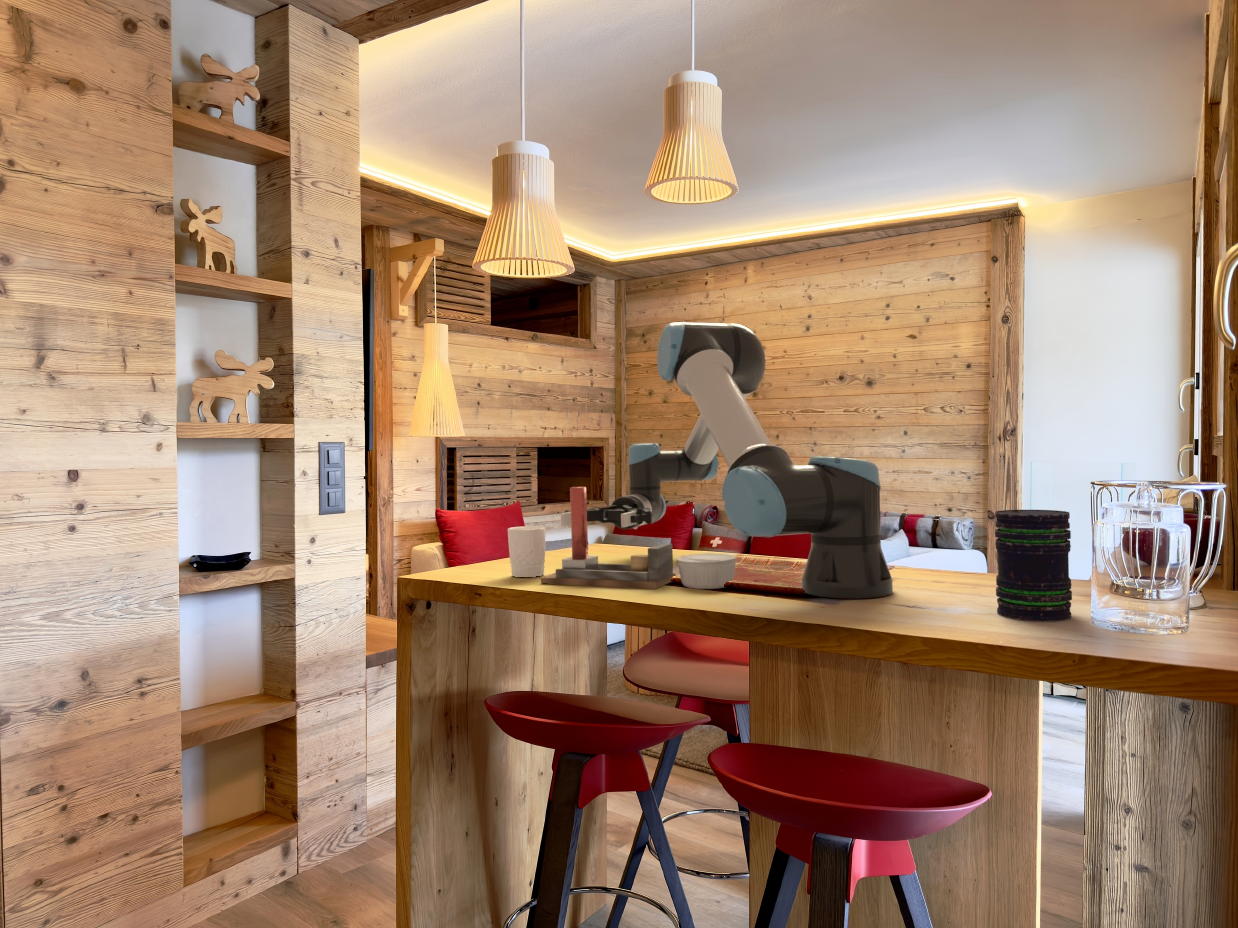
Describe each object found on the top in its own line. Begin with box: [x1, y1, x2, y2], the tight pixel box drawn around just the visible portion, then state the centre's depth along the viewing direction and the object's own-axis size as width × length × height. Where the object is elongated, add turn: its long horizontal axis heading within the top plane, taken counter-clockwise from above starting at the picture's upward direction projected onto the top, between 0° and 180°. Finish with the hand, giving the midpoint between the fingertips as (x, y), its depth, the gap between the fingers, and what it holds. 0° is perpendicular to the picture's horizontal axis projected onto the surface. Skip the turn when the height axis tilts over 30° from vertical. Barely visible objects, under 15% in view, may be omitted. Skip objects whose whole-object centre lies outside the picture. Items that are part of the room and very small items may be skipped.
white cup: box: [507, 525, 547, 578], centre depth 168 cm, size 8×8×10 cm
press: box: [540, 543, 677, 590], centre depth 157 cm, size 24×11×7 cm, turn 67°
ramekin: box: [676, 552, 738, 590], centre depth 151 cm, size 11×11×5 cm
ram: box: [561, 486, 599, 570], centre depth 159 cm, size 5×6×17 cm
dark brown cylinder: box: [994, 509, 1073, 623], centre depth 117 cm, size 10×10×15 cm
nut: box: [630, 554, 648, 572], centre depth 154 cm, size 4×4×4 cm
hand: (592, 520), depth 165 cm, fingers open, 13 cm apart
